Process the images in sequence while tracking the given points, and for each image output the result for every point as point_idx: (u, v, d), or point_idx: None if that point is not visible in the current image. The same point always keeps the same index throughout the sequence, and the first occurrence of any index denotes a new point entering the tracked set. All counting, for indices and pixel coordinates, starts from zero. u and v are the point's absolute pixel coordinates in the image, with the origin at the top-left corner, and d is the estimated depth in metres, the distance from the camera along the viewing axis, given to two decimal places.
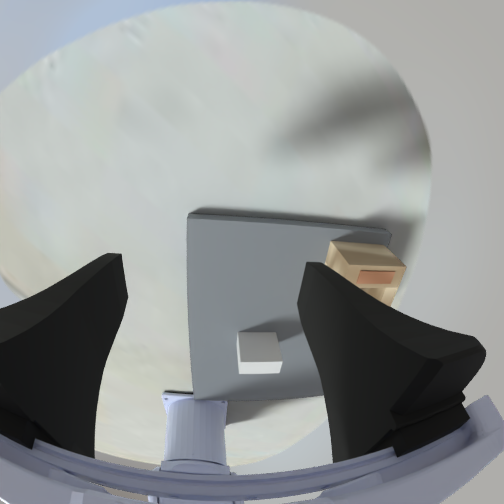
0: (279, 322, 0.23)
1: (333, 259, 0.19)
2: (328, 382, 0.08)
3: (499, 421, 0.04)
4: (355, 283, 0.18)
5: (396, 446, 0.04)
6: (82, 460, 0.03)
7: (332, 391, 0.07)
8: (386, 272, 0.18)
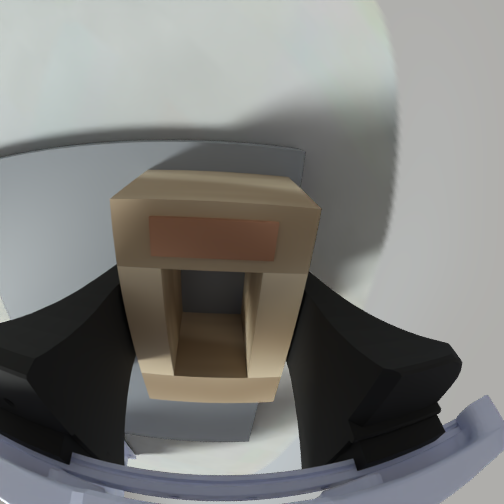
0: None
1: None
2: (297, 385, 0.08)
3: (499, 421, 0.04)
4: (150, 255, 0.06)
5: (356, 458, 0.04)
6: (82, 460, 0.03)
7: (300, 395, 0.07)
8: (244, 223, 0.06)
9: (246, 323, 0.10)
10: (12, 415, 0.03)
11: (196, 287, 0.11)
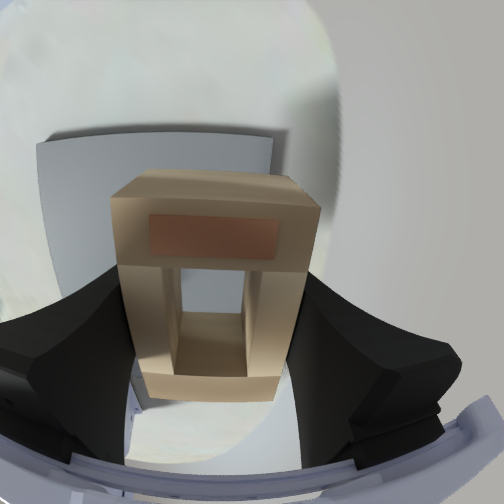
0: None
1: None
2: (297, 385, 0.08)
3: (499, 421, 0.04)
4: (150, 253, 0.06)
5: (356, 458, 0.04)
6: (82, 460, 0.03)
7: (300, 395, 0.07)
8: (244, 222, 0.06)
9: (246, 322, 0.10)
10: (12, 415, 0.03)
11: None
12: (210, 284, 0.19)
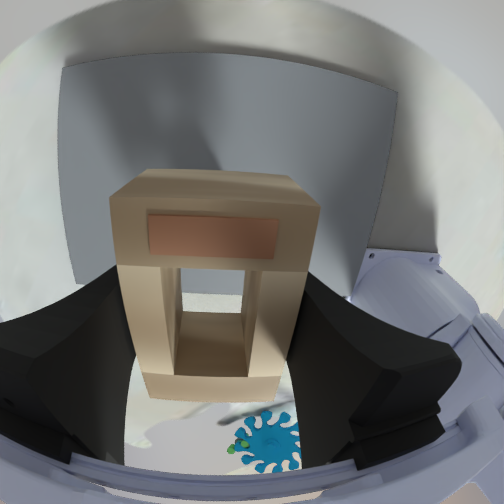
0: None
1: None
2: (297, 385, 0.08)
3: (498, 422, 0.04)
4: (149, 253, 0.06)
5: (356, 458, 0.04)
6: (82, 460, 0.03)
7: (301, 395, 0.07)
8: (243, 221, 0.06)
9: (246, 322, 0.10)
10: (12, 415, 0.03)
11: (136, 111, 0.13)
12: (209, 102, 0.14)
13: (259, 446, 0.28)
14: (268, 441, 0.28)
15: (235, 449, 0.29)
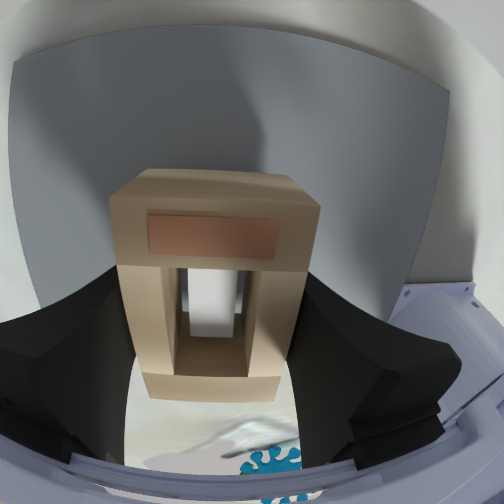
0: None
1: None
2: (297, 385, 0.08)
3: (498, 422, 0.04)
4: (149, 253, 0.06)
5: (356, 458, 0.04)
6: (82, 460, 0.03)
7: (301, 395, 0.07)
8: (244, 221, 0.06)
9: (246, 322, 0.10)
10: (12, 415, 0.03)
11: (100, 111, 0.09)
12: (202, 94, 0.09)
13: None
14: None
15: None
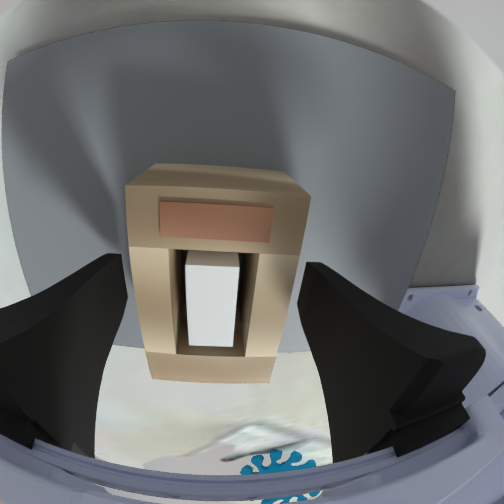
0: None
1: None
2: (328, 382, 0.08)
3: (499, 421, 0.04)
4: (159, 236, 0.07)
5: (396, 446, 0.04)
6: (82, 460, 0.03)
7: (332, 391, 0.07)
8: (244, 208, 0.07)
9: (244, 306, 0.11)
10: None
11: (94, 110, 0.08)
12: (201, 93, 0.09)
13: None
14: None
15: None
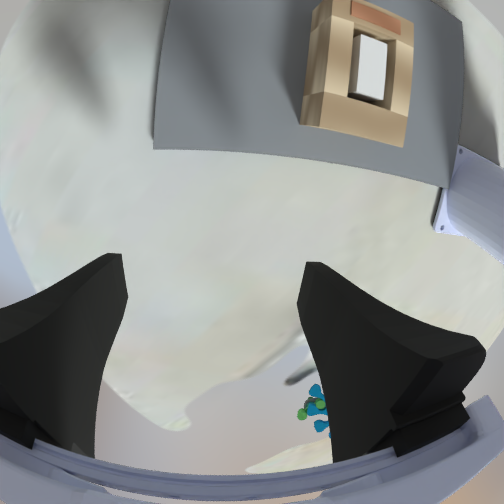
0: None
1: (317, 15, 0.10)
2: (328, 382, 0.08)
3: (498, 422, 0.04)
4: (349, 15, 0.09)
5: (396, 446, 0.04)
6: (82, 460, 0.03)
7: (332, 391, 0.07)
8: (388, 17, 0.09)
9: None
10: None
11: None
12: None
13: None
14: None
15: (308, 413, 0.25)
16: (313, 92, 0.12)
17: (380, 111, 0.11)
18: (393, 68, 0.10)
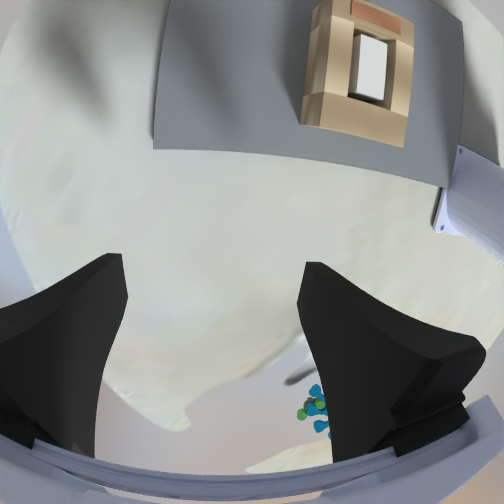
0: None
1: (317, 15, 0.10)
2: (328, 382, 0.08)
3: (498, 422, 0.04)
4: (349, 15, 0.09)
5: (396, 446, 0.04)
6: (82, 460, 0.03)
7: (332, 391, 0.07)
8: (388, 17, 0.09)
9: None
10: None
11: None
12: None
13: None
14: None
15: (308, 413, 0.25)
16: (313, 91, 0.12)
17: (380, 111, 0.11)
18: (393, 68, 0.10)
